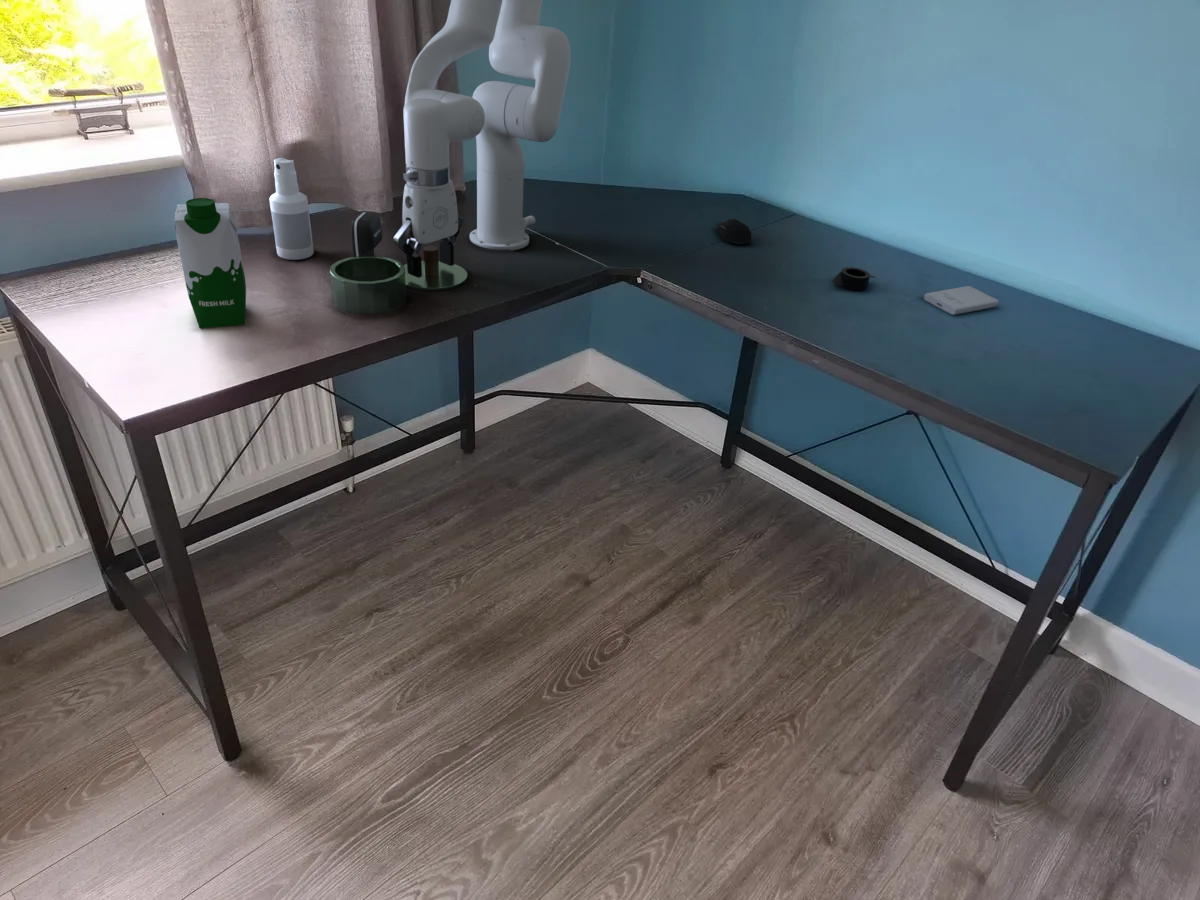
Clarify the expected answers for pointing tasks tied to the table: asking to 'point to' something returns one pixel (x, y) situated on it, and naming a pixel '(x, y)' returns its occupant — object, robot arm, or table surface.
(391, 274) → the pot
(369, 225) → the battery charger
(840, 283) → the duct tape
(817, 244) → the table surface
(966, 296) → the hard drive
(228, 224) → the milk carton
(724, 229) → the gaming mouse
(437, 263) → the lid
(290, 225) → the spray bottle
